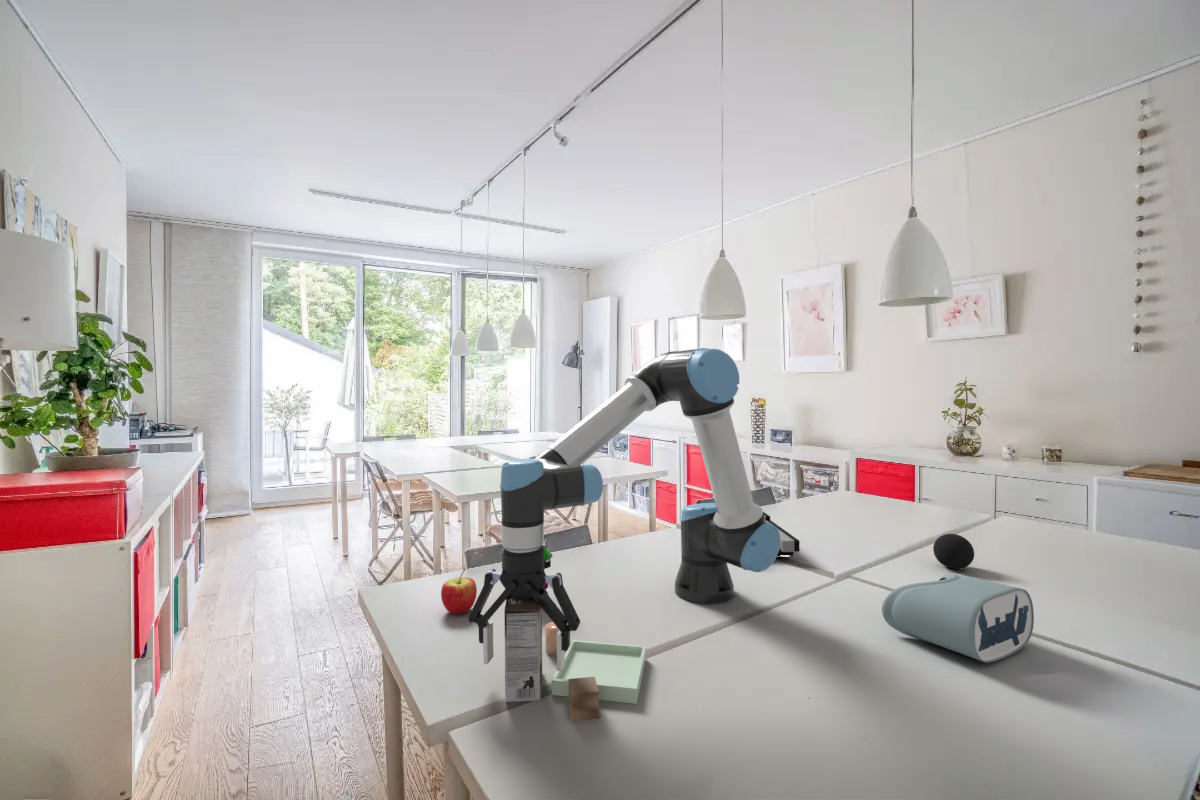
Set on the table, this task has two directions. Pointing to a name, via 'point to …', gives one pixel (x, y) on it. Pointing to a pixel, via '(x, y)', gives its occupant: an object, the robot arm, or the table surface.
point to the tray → (603, 669)
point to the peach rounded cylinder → (551, 638)
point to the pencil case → (963, 615)
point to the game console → (784, 540)
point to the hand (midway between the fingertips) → (524, 663)
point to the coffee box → (523, 650)
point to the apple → (459, 594)
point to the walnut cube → (583, 698)
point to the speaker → (953, 551)
